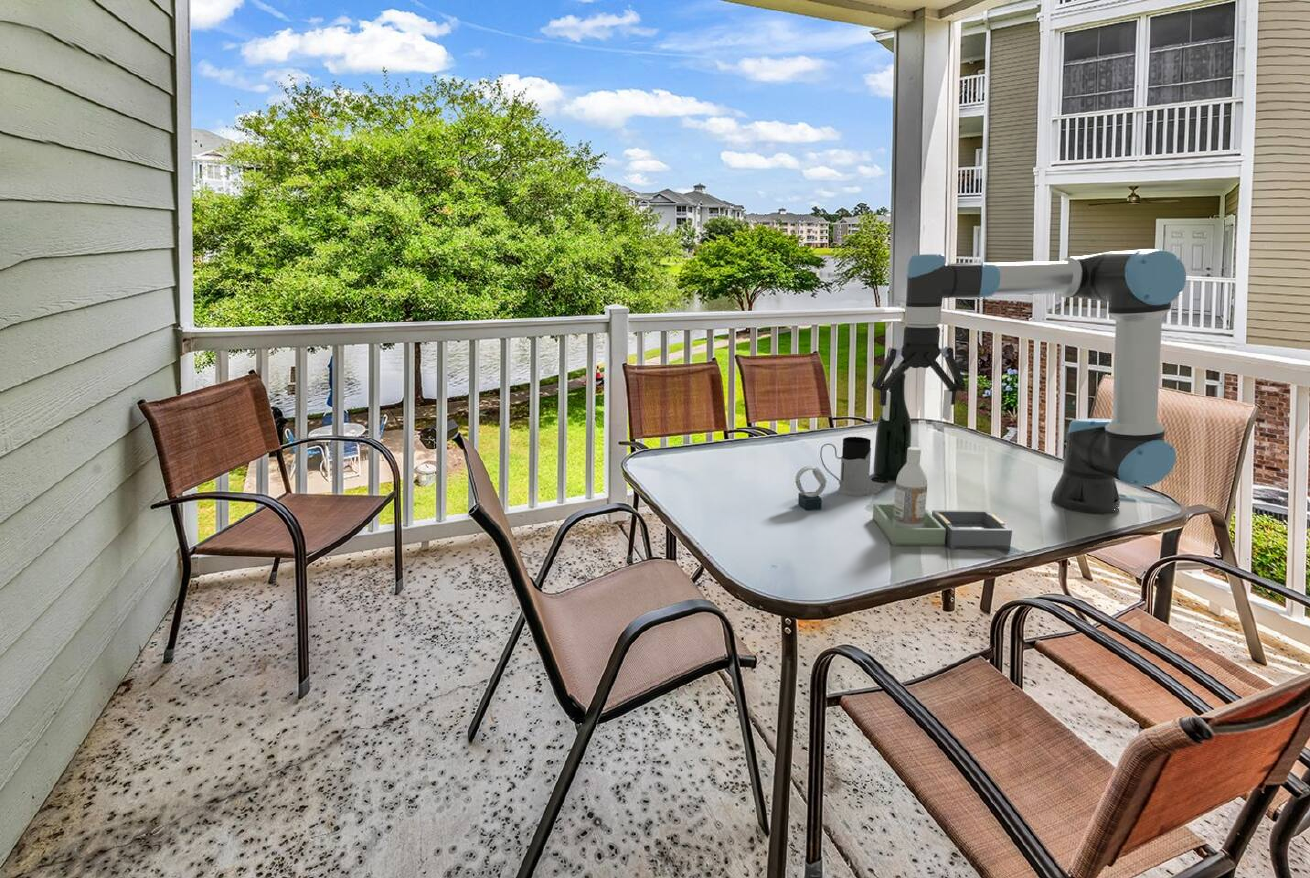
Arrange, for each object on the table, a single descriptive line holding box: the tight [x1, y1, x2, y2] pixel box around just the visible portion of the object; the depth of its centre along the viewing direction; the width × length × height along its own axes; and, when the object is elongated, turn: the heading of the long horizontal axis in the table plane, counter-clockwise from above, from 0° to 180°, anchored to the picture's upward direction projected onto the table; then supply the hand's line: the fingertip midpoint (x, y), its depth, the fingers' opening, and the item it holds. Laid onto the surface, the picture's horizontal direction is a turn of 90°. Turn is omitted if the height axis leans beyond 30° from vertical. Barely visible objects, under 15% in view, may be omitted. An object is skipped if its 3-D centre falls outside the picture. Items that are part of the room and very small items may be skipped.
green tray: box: [872, 503, 946, 547], centre depth 162 cm, size 12×18×4 cm, turn 177°
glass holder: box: [819, 436, 872, 497], centre depth 192 cm, size 9×14×15 cm, turn 80°
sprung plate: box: [951, 523, 988, 529], centre depth 158 cm, size 10×10×1 cm
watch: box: [794, 465, 828, 512], centre depth 180 cm, size 6×8×11 cm
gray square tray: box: [931, 509, 1013, 550], centre depth 157 cm, size 13×13×5 cm
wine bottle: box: [872, 367, 913, 481], centre depth 203 cm, size 10×10×33 cm
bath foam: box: [893, 446, 928, 528], centre depth 160 cm, size 7×7×20 cm
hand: (915, 419), depth 156 cm, fingers open, 13 cm apart
